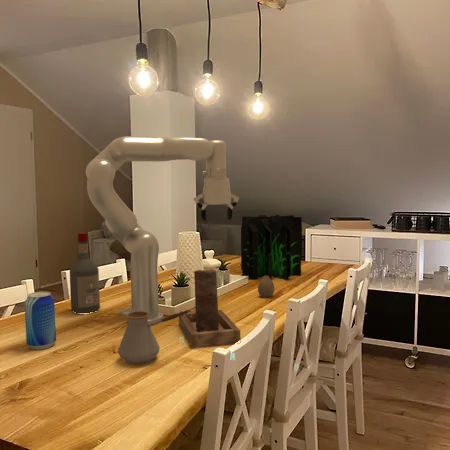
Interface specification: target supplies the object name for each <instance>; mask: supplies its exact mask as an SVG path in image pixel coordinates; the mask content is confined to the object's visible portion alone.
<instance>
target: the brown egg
mask: <svg viewBox="0 0 450 450" xmlns="http://www.w3.org/2000/svg"><path fill="white" fill-rule="evenodd" d="M257 291H258V295H259V296H260V297H262V298H264V299H269V298H271V297H272V296H273V295H274V293H275V284H274V282H273V281H271V279H270V278H269V276H263V277H261V280H259V282H258V284H257Z"/></svg>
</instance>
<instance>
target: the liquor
mask: <svg viewBox="0 0 450 450" xmlns="http://www.w3.org/2000/svg"><path fill="white" fill-rule="evenodd" d="M88 234H89V233H88V232H77V242H78V244H77V245H78V256H77V259H76V261H75V262H74V263H73V264H72V266H71V267H70V269H69V286H70V287H69V289H70V290H69V291H70V310H71V312H72V311H74V312H76V313H90V312H95V311H98V312H99V310H100V308H101V301H100V300H101V299H100V298H101V297H100V273H99V271H100V270H99V267H98V265H97V264H96V263H95V262H93V260H92V259H91V258H90V255H89V244H88V243H89V242H88V241H89V235H88ZM76 313H75V314H76ZM95 313H96V312H95Z"/></svg>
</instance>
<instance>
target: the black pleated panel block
mask: <svg viewBox="0 0 450 450" xmlns="http://www.w3.org/2000/svg"><path fill="white" fill-rule="evenodd" d="M241 220H242V221H241V226H240V251H241V252H240V262H241V263H240V265H241V266H240V269H241V274H242V276H248V280H255V281H256V280H258V279H259V278H263V276H269V278H270V279H271V281H272V280H273V278H277V279H279V280H284V281H288V279H290V277H301V276H302V258H303V256H302V255H303V226H302V225H303V222H302V221H303V217H302V216H294V215H293V214H291V215H280V214H275V215H271V216H266V214H265V215H264V214H258V216H242V217H241ZM272 282H273V281H272Z"/></svg>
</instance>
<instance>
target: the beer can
mask: <svg viewBox="0 0 450 450" xmlns="http://www.w3.org/2000/svg"><path fill="white" fill-rule="evenodd" d="M26 296H27V298H26V299H25V301H24V315H25V316H24V319H25V337H26V339H25V340H26V345H27V346H28V347H29V349H31V350H34V349H40V350H44V349H45V348H46V349H49V348H52V347H53V346H54V345H55V342H56V341H57V329H56V327H57V326H56V310H55V309H56V307H55V305H56V304H55V299H54V297H53V296H52V293H51V292H50V291H35V292H34V291H33V292H30V293H27V295H26ZM51 346H52V347H51ZM46 349H45V350H46Z"/></svg>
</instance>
